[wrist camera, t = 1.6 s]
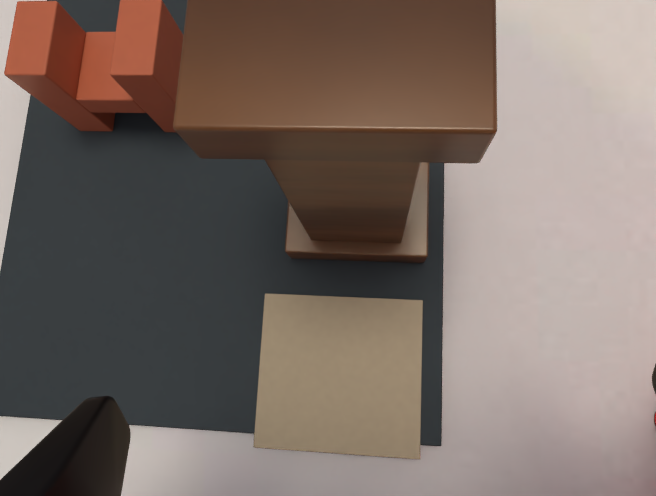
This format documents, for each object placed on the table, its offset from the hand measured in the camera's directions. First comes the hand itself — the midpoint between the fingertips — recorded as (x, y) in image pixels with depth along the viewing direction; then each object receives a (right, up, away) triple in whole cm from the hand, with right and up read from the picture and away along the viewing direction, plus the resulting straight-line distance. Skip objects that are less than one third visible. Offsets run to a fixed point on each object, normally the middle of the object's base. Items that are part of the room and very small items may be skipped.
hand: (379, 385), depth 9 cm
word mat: (-5, +15, +16) cm, 22 cm away
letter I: (0, +4, +13) cm, 14 cm away
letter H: (-9, +9, +15) cm, 20 cm away
